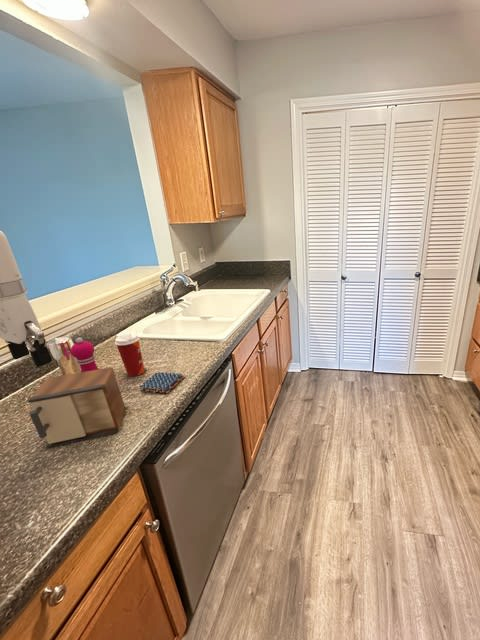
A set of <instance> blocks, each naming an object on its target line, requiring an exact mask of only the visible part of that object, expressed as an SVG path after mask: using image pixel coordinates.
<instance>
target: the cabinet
mask: <svg viewBox="0 0 480 640" xmlns="http://www.w3.org/2000/svg"><path fill="white" fill-rule="evenodd" d="M68 395H71V397H72V399H73V402H74V404H75V407H76V410H77V412H78V415H79V417H80V420H81V423H82V425H83V428H84V430H85V433H86V436H84V437H79V438H74V439H70V440H65V441H60V442H56V443H51V444H48V448H54V447H58V446H59V447H60V446H64V445H67V444H68V445H69V444H72V443H76V442H81V441H85V440H90V439H94V438H95V439H97V438H99V437H104V436H109V435H114V434H118V433H119V430H120V427H121V423H122V420H123V418H124V414H125V411H126V406H125V402H124V399H123V396H122V393H121V390H120V386H119V383H118V381H117V378H116V374H115V371H114V367H113V366H111V367H104V368H99V369H98V370H93V371H87V372H81V373H75V374H69V375H57V376H51V377H46V379H45V380H44V381H43V383H42V384H41V385H40V386H39V388H38V389H37V390H36V391H35V392H34V394H33V395H32V396H31V397H29V398H28V400H27V403H29V404H30V402H35V401H41V400H46V399H52V398H57V397H62V396H68Z"/></svg>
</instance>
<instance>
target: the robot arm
mask: <svg viewBox="0 0 480 640" xmlns="http://www.w3.org/2000/svg"><path fill="white" fill-rule="evenodd" d="M27 289H28V288H27V287H26V284H25V282H24V279H23V277H22V274H21V271H20V269H19V266H18V263H17V261H16V258H15V256H14V253H13V250H12V248H11V245H10V243H9V240H8V238H7V236H6V234H5V233H4V232H3V231H2V230H0V339H1V340H4V341H5V343H6V345H7V347H8V350H9V352H10V354H11V357H12V360H13V359H14V360H19V359H23V358H25V357H27V356H31V359H32V362H33V364H34V365H35V367H37V368H40V367H43V366H45V365H47V364H50V363H52V362H53V358H52V355H51V353H50V350H49V349H48V343H47V339H46V338H45V333H44V331H43V330H42V328H41V325H40V322H39V320H38V318H37V316H36V313H35V311H34V309H33V307H32V304H31V303H30V301H29V299H28V297H27V294H28V293H29V292H28V290H27ZM32 341H33V343H32ZM29 350H30V351H29Z"/></svg>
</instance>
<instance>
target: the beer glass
mask: <svg viewBox="0 0 480 640" xmlns="http://www.w3.org/2000/svg"><path fill="white" fill-rule="evenodd" d="M74 344H75V343H74V341H73V339H72V337H71V336H66V335H65V336H59V337H56V338H53V339H50V340H49V341H48V342H47V346H48V348H49V353H50V356H51V358H52V360H53V361H54V362H55V364H56V366H57V367H58V369H59V370H60V372H61V374H62V375H61V376H63V375H69V374H75V373H81V368H80V365H79V364H77V361H76V358H75V357H73V356H72V354H71V347H72V346H73V345H74Z"/></svg>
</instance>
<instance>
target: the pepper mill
mask: <svg viewBox="0 0 480 640" xmlns="http://www.w3.org/2000/svg"><path fill="white" fill-rule="evenodd" d="M83 339H84V338H83V337H76V338H75V342H76V343H74V345H73V346H72V347H71V354H72V356H73V357H75V358H76V361H77V364H79V368H80V370H81V372H87V371H93V370H98V369H100V368H99V366H97V363H96V361H95V360H96V357H95V356H96V355H95V347H94V345H93V343H92V342H89V341H87V340H83Z"/></svg>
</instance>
